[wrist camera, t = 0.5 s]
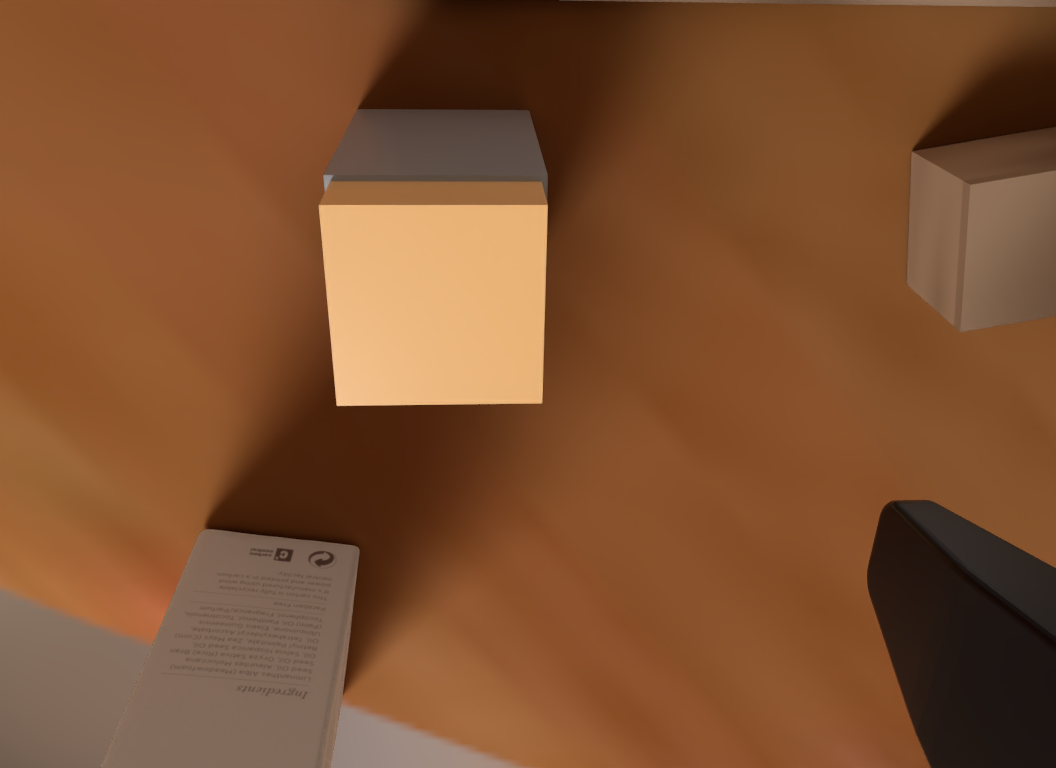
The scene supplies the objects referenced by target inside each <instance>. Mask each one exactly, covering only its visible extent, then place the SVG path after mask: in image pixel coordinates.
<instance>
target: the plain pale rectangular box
mask: <svg viewBox="0 0 1056 768" xmlns="http://www.w3.org/2000/svg"><path fill="white" fill-rule="evenodd" d="M907 285H908V286H909V287H910V288H911V289H912V290H913V291H914V292H916V293H917V294H918V295H919V296H920V297H921V298H922V299H924V300H925V301H926V302H927V303H928V304H929V305H930V306H931V307H933V308H934V309H935V310H936V311H937V312H938V313H939V314H940V315H942V316H943V317H944V318H945V319H946V320H947V321H948V322H950V323H951V324H952V325H953V326H954V327H955V328H956V329H957V330H959V331H960V332H963V331H969V330H975V329H981V328H987V327H993V326H999V325H1005V324H1011V323H1017V322H1023V321H1029V320H1035V319H1041V318H1047V317H1053V316H1056V127H1051V128H1045V129H1039V130H1033V131H1027V132H1021V133H1016V134H1010V135H1004V136H998V137H992V138H986V139H981V140H975V141H969V142H963V143H957V144H952V145H946V146H940V147H934V148H928V149H922V150H917V151H912V158H911V185H910V212H909V238H908V265H907Z"/></svg>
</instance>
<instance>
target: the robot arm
mask: <svg viewBox="0 0 1056 768" xmlns="http://www.w3.org/2000/svg"><path fill="white" fill-rule="evenodd" d="M867 584H868V590H869V594H870V598H871V601H872V604H873V607H874V610H875V613H876V616H877V619H878V622H879V625H880V628H881V631H882V634H883V637H884V640H885V643H886V646H887V649H888V652H889V656H890V659H891V662H892V665H893V668H894V671H895V674H896V677H897V680H898V683H899V686H900V689H901V692H902V695H903V698H904V701H905V704H906V707H907V710H908V713H909V716H910V719H911V721H912V724H913V727H914V730H915V732H916V735H917V737H918V740H919V742H920V744H921V747H922V749H923V751H924V754H925V756H926V758H927V761H928V763H929V765H930V767H931V768H1056V568H1054V567H1052V566H1051V565H1049V564H1047V563H1045V562H1043V561H1041V560H1040V559H1038V558H1036V557H1034V556H1032V555H1030V554H1029V553H1027V552H1025V551H1023V550H1021V549H1019V548H1018V547H1016V546H1014V545H1012V544H1010V543H1008V542H1006V541H1005V540H1003V539H1001V538H999V537H997V536H995V535H994V534H992V533H990V532H988V531H986V530H984V529H983V528H981V527H979V526H977V525H975V524H973V523H972V522H970V521H968V520H966V519H964V518H962V517H961V516H959V515H957V514H955V513H953V512H951V511H950V510H948V509H946V508H944V507H942V506H940V505H938V504H937V503H935V502H932V501H929V500H901V501H891V502H889V503H888V504H886V505H885V506H884V508H883V509H882V512H881V514H880V518H879V522H878V526H877V530H876V535H875V539H874V543H873V547H872V552H871V556H870V560H869V565H868V570H867Z"/></svg>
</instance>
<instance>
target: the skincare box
mask: <svg viewBox="0 0 1056 768" xmlns="http://www.w3.org/2000/svg"><path fill="white" fill-rule="evenodd" d="M359 554H360V551H359V548H358V547H356V546H353V545H346V544H338V543H330V542H321V541H312V540H300V539H291V538H284V537H273V536H263V535H255V534H247V533H239V532H231V531H223V530H214V529H206V530H203V531H201V532H200V534H199V536H198V538H197V540H196V542H195V545H194V547H193V549H192V552H191V554H190V557H189V560H188V562H187V564H186V566H185V568H184V571H183V574H182V576H181V578H180V581H179V583H178V585H177V588H176V590H175V592H174V594H173V597H172V599H171V602H170V604H169V607H168V609H167V612H166V614H165V617H164V619H163V622H162V624H161V626H160V629H159V631H158V633H157V635H156V638H155V640H154V642H153V644H152V647H151V649H150V652H149V654H148V656H147V658H146V661H145V663H144V666H143V669H142V671H141V673H140V675H139V678H138V679H137V681H136V684H135V686H134V689H133V691H132V693H131V696H130V698H129V701H128V703H127V705H126V708H125V710H124V713H123V715H122V717H121V720H120V723H119V725H118V727H117V730H116V732H115V734H114V736H113V739H112V741H111V744H110V746H109V749H108V751H107V753H106V756H105V758H104V760H103V763H102V765H101V767H100V768H330V766H331V761H332V755H333V749H334V744H335V738H336V731H337V726H338V720H339V714H340V708H341V702H342V696H343V688H344V680H345V672H346V664H347V656H348V648H349V641H350V632H351V622H352V613H353V604H354V595H355V586H356V577H357V568H358V561H359Z"/></svg>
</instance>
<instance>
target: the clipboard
mask: <svg viewBox="0 0 1056 768" xmlns="http://www.w3.org/2000/svg"><path fill="white" fill-rule="evenodd" d="M561 1H638V2H715V3H792V4H868V5H945V6H1022V7H1056V0H561Z"/></svg>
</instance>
